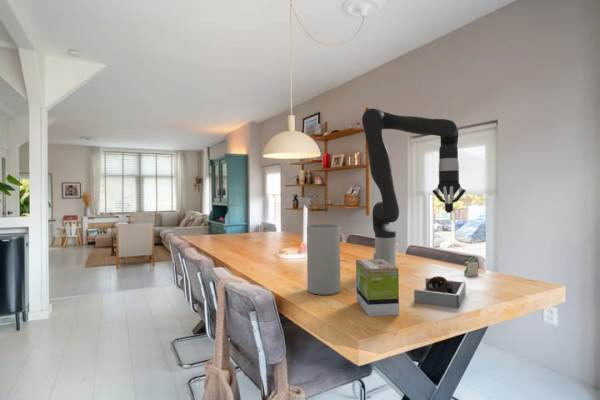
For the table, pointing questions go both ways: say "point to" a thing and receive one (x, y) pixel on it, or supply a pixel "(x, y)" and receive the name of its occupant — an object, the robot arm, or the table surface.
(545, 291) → the table surface
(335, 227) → the cylinder vase
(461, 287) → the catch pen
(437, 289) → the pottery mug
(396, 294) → the tea box
